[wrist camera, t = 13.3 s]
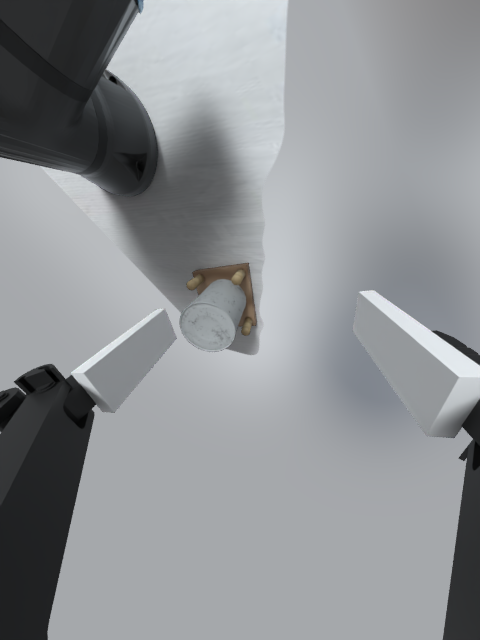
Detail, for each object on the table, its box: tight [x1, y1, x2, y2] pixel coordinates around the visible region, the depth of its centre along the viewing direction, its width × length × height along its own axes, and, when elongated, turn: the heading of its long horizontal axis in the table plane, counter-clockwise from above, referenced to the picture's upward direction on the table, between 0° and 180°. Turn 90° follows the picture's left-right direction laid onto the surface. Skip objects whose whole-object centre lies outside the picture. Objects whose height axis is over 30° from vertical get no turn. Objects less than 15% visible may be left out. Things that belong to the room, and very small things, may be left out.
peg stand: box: [186, 263, 257, 336], centre depth 38 cm, size 14×12×7 cm
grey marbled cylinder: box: [180, 279, 246, 352], centre depth 34 cm, size 10×10×12 cm
